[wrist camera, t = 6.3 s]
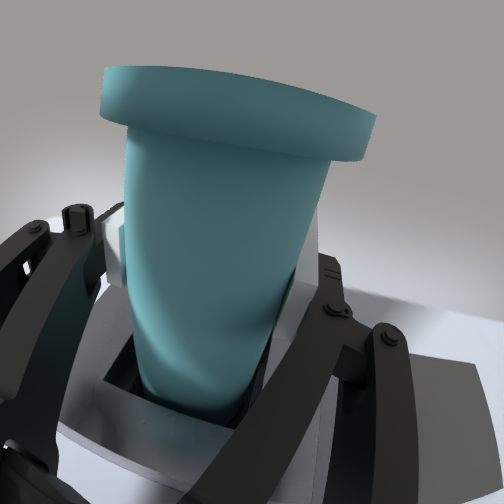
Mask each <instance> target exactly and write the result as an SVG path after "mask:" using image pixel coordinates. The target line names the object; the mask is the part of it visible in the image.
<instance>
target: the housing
mask: <svg viewBox="0 0 504 504" xmlns="http://www.w3.org/2000/svg"><path fill="white" fill-rule="evenodd" d="M274 324H275V323H274ZM273 330H274V325H273V328H272V330H271V333H270V335H269V338H268V340H267V343H266V345H265V348H264V350H263V353H262V355H261V358H260V360H259V366H258V371H257V375H256V379H255V384H254V388H253V392H252V396H251V401H250V405H249V409H250V408H251V406H252V405H253V403H254V402H255V400H256V399H257V397H258V396H259V394H260V393H261V391H262V390H263V388H264V387H265V385H266V384H267V382H268V380H269V379H270V377H271V376H272V374H273V373H274V371H275V369H276V368H277V366H278V364H279V363H280V361H281V360H282V358H283V356H284V355H285V353H286V351H287V350H288V348H289V346H290V345H291V343H292V342H288V341H284V340H280V339H277V338H273V337H272V335H273ZM295 336H296V335H295ZM294 338H295V337H294ZM138 373H139V367H138V361H137V356H136V350H135V343H134V336H133V329H132V322H131V314H130V305H129V295H128V284H126V285H125V286H124V288H123V289H122V288H120V287H117V286H115V285H112V284H111V285H110V286H109V287H108V289H107V290H106V291H105V292H104V293H103V294H102V296H101V297H100V298H99V299H98V300H97V301H96V303H95V304H94V305H93V308H92V310H91V313H90V316H89V318H88V321H87V324H86V327H85V330H84V332H83V335H82V338H81V341H80V344H79V347H78V350H77V354H76V357H75V360H74V363H73V367H72V370H71V373H70V377H69V380H68V384H67V388H66V392H65V396H64V399H63V404H62V408H61V412H60V417H59V421H58V426H57V431H58V432H60V433H61V434H63V435H64V436H66V437H68V438H69V439H71V440H72V441H74V442H76V443H77V444H79V445H81V446H82V447H84V448H86V449H88V450H89V451H91V452H93V453H95V454H97V455H98V456H100V457H102V458H104V459H106V460H108V461H110V462H112V463H114V464H116V465H118V466H120V467H122V468H125V469H127V470H129V471H131V472H133V473H136V474H138V475H140V476H143V477H145V478H148V479H150V480H153V481H155V482H158V483H161V484H163V485H166V486H169V487H172V488H175V489H178V490H181V491H184V492H188V491H189V490H190V489H191V488H192V487H193V485H194V484H195V483H196V482H197V480H198V479H199V478H200V477H201V475H202V474H203V473H204V471H205V470H206V469H207V468H208V466H209V465H210V464H211V462H212V461H213V460H214V458H215V457H216V456H217V454H218V453H219V452H220V450H221V449H222V448H223V446H224V445H225V444H226V442H227V441H228V439H229V438H230V437H231V435H232V434H233V432H234V431H235V430H233V429H230V428H226V427H222V426H219V425H215V424H212V423H209V422H206V421H202V420H199V419H196V418H193V417H190V416H187V415H184V414H181V413H179V412H176V411H173V410H170V409H168V408H165V407H162V406H160V405H157V404H155V403H152V402H150V401H147V400H145V399H143V398H140V397H138V396H136V395H133V394H131V393H129V390H130V388H131V386H132V385H133V383H134V381H135V379H136V377H137V375H138ZM249 409H248V411H249ZM320 411H321V401H320V403H319V405H318V408H317V410H316V412H315V414H314V416H313V419H312V421H311V423H310V425H309V427H308V429H307V431H306V433H305V435H304V437H303V439H302V441H301V443H300V445H299V447H298V449H297V451H296V453H295V455H294V457H293V459H292V461H291V463H290V464H289V466H288V468H287V470H286V472H285V473H284V475H283V477H282V479H281V480H280V482H279V484H278V486H277V487H276V489H275V491H274V492H273V494H272V496H271V497H270V499H269V501H268V502H267V504H311V499H312V492H313V484H314V476H315V468H316V458H317V448H318V437H319V425H320Z"/></svg>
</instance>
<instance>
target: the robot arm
mask: <svg viewBox="0 0 504 504" xmlns="http://www.w3.org/2000/svg"><path fill="white" fill-rule="evenodd" d="M62 218H63V226H64V231H63V232H62V233H54V232H50V227H49V224H48V222H46V221H44V220H34V221H32V222H29V223H28V224H26V225H24V226H23V227H22V228H20V229H19V230H18V231H17V232H15V233H14V234H13V235H12V236H10V237H9V238H8V239H7V240H5V241H4V242H3V243H2V244H1V245H0V504H90V503H89V502H88V501H87V500H86V499H84V498H83V497H82V496H81V495H80V494H79V493H78V492H77V491H76V490H74V489H73V488H72V487H71V486H70V485H68V484H66V483H65V482H63V481H62V480H60V479H59V478H57V470H58V462H59V452H58V447H57V444H56V431H57V426H58V421H59V417H60V412H61V408H62V404H63V399H64V396H65V392H66V388H67V384H68V380H69V377H70V373H71V370H72V367H73V363H74V360H75V357H76V354H77V350H78V347H79V344H80V341H81V338H82V335H83V332H84V330H85V327H86V324H87V321H88V318H89V316H90V313H91V310H92V308H93V305H94V303H95V300H96V298H97V295H98V293H99V290H100V288H101V279H100V277H101V276H102V275H103V274H104V273H105V272H106V276H107V283H110V284H112V285H115V286H117V287H120V288H122V289H123V288H124V286H125V285H126V284H127V272H126V256H125V232H124V202H121V203H118V204H116V205H114V206H113V207H112V208H110V210H107V211H106V212H105V213H104V214H102V215H100V216H99V217H98V218H97V219H95V220H94V212H93V208H92V207H91V206H89V205H87V204H75V205H70V206H68V207H65V208H64V209H63V210H62ZM26 261H28V265H29V269H30V273H29V274H27V275H26V274H25V271H24V268H23V264H24V263H25V262H26ZM352 315H353V312H352V310H351V308H350V306H349V305H348V304H347V303H346V302H345V301H344V294H343V284H342V275H341V268H340V264H339V263H338V261H337V260H336V258H335V257H331V256H328V255H324V254H321V253H318V224H317V207H316V210H315V213H314V215H313V218H312V221H311V224H310V227H309V230H308V233H307V236H306V239H305V242H304V245H303V247H302V250H301V253H300V256H299V259H298V261H297V264H296V266H295V269H294V272H293V275H292V277H291V280H290V283H289V286H288V288H287V291H286V294H285V296H284V299H283V302H282V304H281V307H280V309H279V312H278V315H277V317H276V320H275V324H274V330H273V335H272V337H273V338H277V339H280V340H284V341H288V342H292V343H291V345H290V346H289V348H288V350H287V351H286V353H285V355H284V356H283V358H282V360H281V361H280V363H279V364H278V366H277V368H276V369H275V371H274V373H273V374H272V376H271V377H270V379H269V380H268V382H267V384H266V385H265V387H264V388H263V390H262V391H261V393H260V394H259V396H258V397H257V399H256V400H255V402H254V403H253V405H252V406H251V408H250V409H249V411H248V412H247V414H246V415H245V417H244V418H243V420H242V421H241V423H240V424H239V425H238V427H237V428H236V430H235V431H234V432H233V434H232V435H231V437H230V438H229V439H228V441H227V442H226V444H225V445H224V446H223V448H222V449H221V450H220V452H219V453H218V454H217V456H216V457H215V458H214V460H213V461H212V462H211V464H210V465H209V466H208V468H207V469H206V470H205V471H204V473H203V474H202V475H201V477H200V478H199V479H198V480H197V482H196V483H195V484H194V485H193V487H192V488H191V489H190V490H189V491H188V492H187V493H186V494H185V495H184V496H183V497H182V498H181V499H180V500H179V501H178V502H177V503H176V504H267V502H268V501H269V499H270V497H271V496H272V494H273V492H274V491H275V489H276V487H277V486H278V484H279V482H280V480H281V479H282V477H283V475H284V473H285V472H286V470H287V468H288V466H289V464H290V463H291V461H292V459H293V457H294V455H295V453H296V451H297V449H298V447H299V445H300V443H301V441H302V439H303V437H304V435H305V433H306V431H307V429H308V427H309V425H310V423H311V421H312V419H313V416H314V414H315V412H316V410H317V408H318V405H319V403H320V401H321V399H322V396H323V394H324V392H325V389H326V387H327V385H328V382H329V380H330V377H331V375H333V376H335V377H337V378H339V383H338V396H337V407H336V417H335V426H334V435H333V443H332V450H331V457H330V464H329V470H328V476H327V482H326V488H325V493H324V499H323V504H418V490H419V447H418V428H417V414H416V404H415V394H414V386H413V378H412V371H411V364H410V358H409V352H408V346H407V341H406V339H405V336H404V335H403V333H402V332H401V331H400V330H399V329H398V328H397V327H395V326H393V325H391V324H389V323H379V324H376V326H375V327H374V328H373V329H371V328H369V327H367V326H365V325H363V324H361V323H359V322H358V321H356V320H355V319H354V318H352ZM295 335H296V336H295ZM294 337H295V338H294ZM4 444H5V445H6V446H8V448H7V449H5V448H3V447H4Z"/></svg>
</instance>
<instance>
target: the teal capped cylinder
mask: <svg viewBox="0 0 504 504" xmlns="http://www.w3.org/2000/svg"><path fill="white" fill-rule="evenodd" d="M100 115H101V116H102V117H103V118H105V119H107V120H109V121H112V122H115V123H118V124H122V125H126V126H128V129H127V142H126V157H125V158H126V159H125V180H124V232H125V256H126V272H127V284H128V295H129V305H130V314H131V322H132V329H133V336H134V343H135V350H136V356H137V361H138V367H139V372H140V378H141V383H142V388H143V392H144V397H145V400H147V401H150V402H152V403H155V404H157V405H160V406H162V407H165V408H168V409H170V410H173V411H176V412H179V413H181V414H184V415H187V416H190V417H193V418H196V419H199V420H202V421H206V422H209V423H212V424H215V425H219V426H222V427H223V426H224V425H226V424H227V423H228V422H229V421H231V420H232V419H233V417H234V416H235V415H236V413H237V411H238V409H239V407H240V405H241V403H242V400H243V398H244V396H245V393H246V391H247V389H248V386H249V384H250V382H251V379H252V377H253V375H254V372H255V370H256V367H257V365H258V363H259V360H260V358H261V355H262V353H263V350H264V348H265V345H266V343H267V340H268V338H269V335H270V333H271V330H272V328H273V325H274V323H275V320H276V317H277V315H278V312H279V309H280V307H281V304H282V302H283V299H284V296H285V294H286V291H287V288H288V286H289V283H290V280H291V277H292V275H293V272H294V269H295V266H296V264H297V261H298V259H299V256H300V253H301V250H302V247H303V245H304V242H305V239H306V236H307V233H308V230H309V227H310V224H311V221H312V218H313V215H314V213H315V210H316V207H317V203H318V201H319V197H320V194H321V191H322V188H323V185H324V182H325V179H326V175H327V173H328V169H329V166H330V163H331V160H333V161H346V162H348V161H360V160H362V159H363V157H364V154H365V151H366V148H367V145H368V142H369V139H370V135H371V132H372V129H373V126H374V123H375V119H376V115H375V114H372V113H370V112H368V111H366V110H363V109H361V108H358V107H356V106H353V105H351V104H348V103H345V102H342V101H340V100H337V99H334V98H331V97H327V96H325V95H321V94H318V93H315V92H312V91H308V90H305V89H301V88H298V87H294V86H290V85H286V84H282V83H278V82H274V81H269V80H264V79H260V78H254V77H250V76H244V75H238V74H232V73H226V72H219V71H211V70H203V69H194V68H181V67H166V66H117V67H107V68H105V71H104V78H103V86H102V94H101V104H100Z"/></svg>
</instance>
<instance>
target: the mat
mask: <svg viewBox="0 0 504 504" xmlns="http://www.w3.org/2000/svg"><path fill="white" fill-rule="evenodd" d="M409 358H410V364H411V371H412V378H413V386H414V394H415V404H416V414H417V428H418V447H419V490H418V504H462V503H465V502H468V501H471V500H474V499H477V498H480V497H483V496H485V495H488V494H491V493H493V492H496V491H498V490H500V489H502V488H503V481H502V472H501V465H500V459H499V453H498V447H497V442H496V437H495V432H494V428H493V424H492V419H491V415H490V412H489V408H488V404H487V401H486V397H485V394H484V390H483V387H482V384H481V381H480V378H479V375H478V372H477V369H476V366H475V364H471V363H463V362H456V361H450V360H443V359H437V358H431V357H425V356H419V355H414V354H409Z"/></svg>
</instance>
